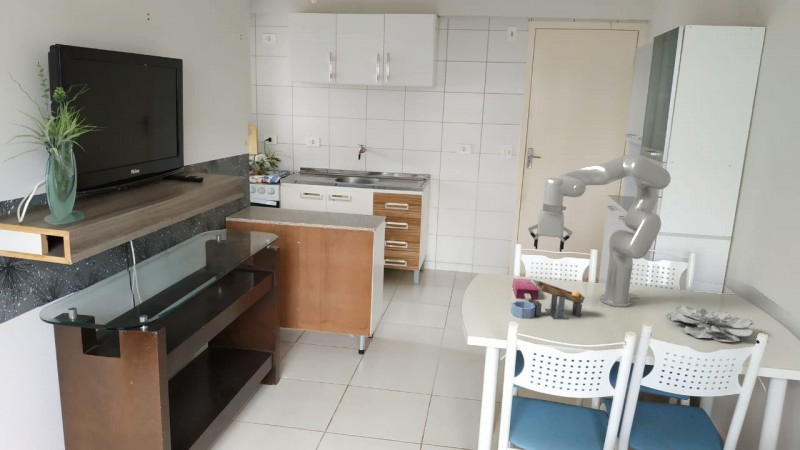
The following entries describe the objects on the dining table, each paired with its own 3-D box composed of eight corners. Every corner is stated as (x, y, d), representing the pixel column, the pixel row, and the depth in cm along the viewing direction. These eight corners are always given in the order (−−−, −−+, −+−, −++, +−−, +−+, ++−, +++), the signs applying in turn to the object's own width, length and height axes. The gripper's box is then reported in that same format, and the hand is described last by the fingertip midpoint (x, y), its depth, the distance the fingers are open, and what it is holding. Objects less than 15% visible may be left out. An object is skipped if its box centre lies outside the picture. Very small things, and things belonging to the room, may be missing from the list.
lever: (569, 293, 242) (572, 286, 241) (581, 305, 229) (584, 297, 229) (530, 280, 239) (533, 273, 238) (541, 291, 226) (544, 283, 226)
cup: (529, 310, 236) (530, 301, 235) (536, 318, 227) (537, 308, 226) (509, 310, 235) (509, 300, 234) (515, 318, 226) (516, 308, 225)
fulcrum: (573, 310, 238) (576, 289, 236) (583, 319, 229) (586, 297, 227) (530, 309, 236) (532, 288, 234) (538, 319, 227) (540, 297, 225)
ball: (576, 298, 233) (579, 291, 233) (579, 301, 230) (582, 293, 230) (569, 296, 233) (571, 289, 232) (572, 299, 230) (574, 291, 229)
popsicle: (518, 292, 243) (512, 278, 262) (517, 303, 244) (511, 288, 263) (540, 294, 242) (533, 279, 262) (539, 305, 243) (532, 289, 263)
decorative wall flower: (705, 296, 244) (775, 322, 217) (703, 312, 245) (772, 339, 218) (652, 303, 232) (719, 332, 205) (650, 320, 233) (715, 350, 206)
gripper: (574, 208, 233) (569, 249, 237) (530, 205, 237) (526, 245, 241) (575, 212, 226) (570, 254, 230) (530, 208, 230) (526, 250, 234)
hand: (548, 249), depth 236 cm, fingers open, 9 cm apart
